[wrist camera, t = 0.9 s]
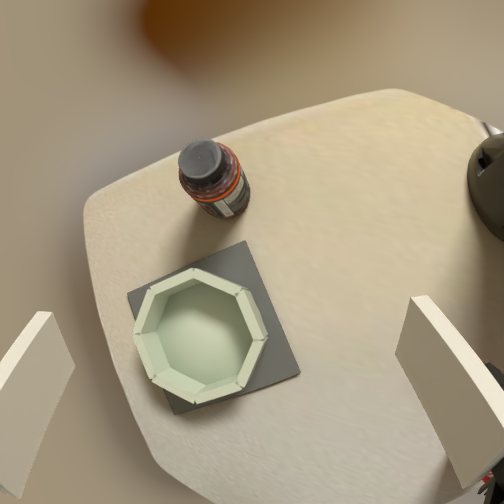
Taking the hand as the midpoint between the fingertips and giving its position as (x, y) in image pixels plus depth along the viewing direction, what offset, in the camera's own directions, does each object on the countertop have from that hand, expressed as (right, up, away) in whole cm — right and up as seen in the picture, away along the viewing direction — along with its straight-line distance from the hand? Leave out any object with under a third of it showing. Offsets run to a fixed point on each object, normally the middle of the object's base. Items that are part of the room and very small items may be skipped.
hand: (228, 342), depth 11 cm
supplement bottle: (-2, +10, +27) cm, 29 cm away
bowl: (-4, -6, +25) cm, 26 cm away
